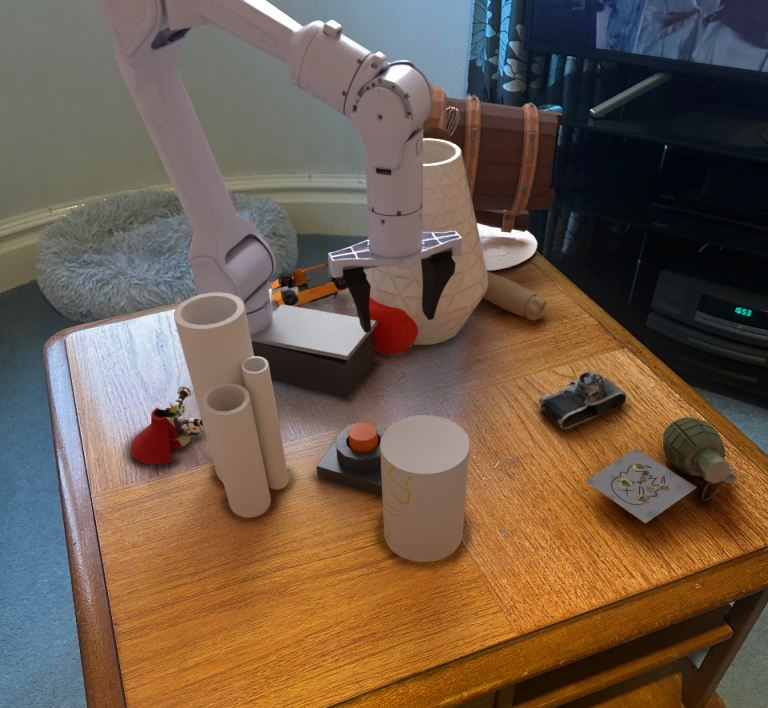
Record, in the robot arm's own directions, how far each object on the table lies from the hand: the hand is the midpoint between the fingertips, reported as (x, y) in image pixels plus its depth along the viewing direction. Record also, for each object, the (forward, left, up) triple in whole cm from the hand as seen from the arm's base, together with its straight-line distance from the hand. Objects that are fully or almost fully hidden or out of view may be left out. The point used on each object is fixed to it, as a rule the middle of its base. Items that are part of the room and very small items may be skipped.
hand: (397, 321), depth 83 cm
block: (+2, -14, -10) cm, 17 cm away
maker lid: (-12, +1, -5) cm, 13 cm away
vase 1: (-9, -21, -10) cm, 25 cm away
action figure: (-21, -19, -10) cm, 30 cm away
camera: (+22, +5, -10) cm, 25 cm away
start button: (+2, -14, -7) cm, 15 cm away
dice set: (+31, -7, -8) cm, 33 cm away
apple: (-5, +9, -10) cm, 15 cm away
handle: (+12, +23, -9) cm, 27 cm away
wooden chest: (-13, +36, +3) cm, 39 cm away
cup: (+12, -21, -10) cm, 26 cm away
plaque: (-5, +42, -8) cm, 43 cm away
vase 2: (-3, +16, -10) cm, 19 cm away
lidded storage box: (-12, +1, -10) cm, 16 cm away
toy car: (-21, +17, -7) cm, 28 cm away
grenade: (+34, +4, -9) cm, 35 cm away
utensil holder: (-6, +23, +6) cm, 24 cm away
